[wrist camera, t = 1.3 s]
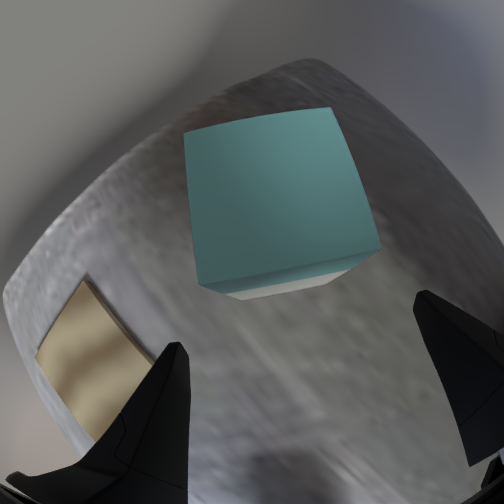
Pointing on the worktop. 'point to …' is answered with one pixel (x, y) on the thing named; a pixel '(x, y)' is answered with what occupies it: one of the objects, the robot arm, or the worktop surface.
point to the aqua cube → (275, 201)
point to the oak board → (92, 361)
